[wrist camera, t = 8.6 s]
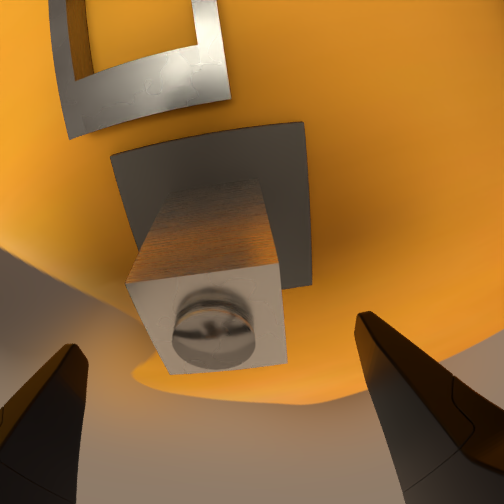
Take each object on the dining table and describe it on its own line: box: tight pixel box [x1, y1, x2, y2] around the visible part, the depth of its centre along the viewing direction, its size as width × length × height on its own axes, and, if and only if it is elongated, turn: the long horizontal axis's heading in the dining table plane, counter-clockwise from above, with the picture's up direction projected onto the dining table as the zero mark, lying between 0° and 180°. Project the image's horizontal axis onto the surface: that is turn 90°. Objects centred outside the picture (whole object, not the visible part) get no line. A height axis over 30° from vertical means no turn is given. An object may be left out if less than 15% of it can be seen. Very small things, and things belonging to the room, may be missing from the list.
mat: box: [110, 121, 312, 290], centre depth 15 cm, size 9×9×1 cm
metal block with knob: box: [125, 178, 287, 375], centre depth 12 cm, size 4×4×8 cm
